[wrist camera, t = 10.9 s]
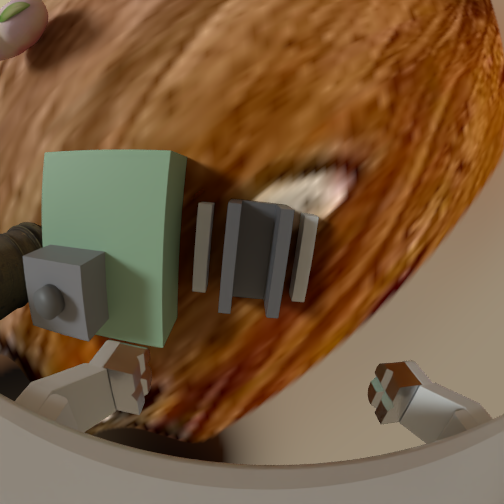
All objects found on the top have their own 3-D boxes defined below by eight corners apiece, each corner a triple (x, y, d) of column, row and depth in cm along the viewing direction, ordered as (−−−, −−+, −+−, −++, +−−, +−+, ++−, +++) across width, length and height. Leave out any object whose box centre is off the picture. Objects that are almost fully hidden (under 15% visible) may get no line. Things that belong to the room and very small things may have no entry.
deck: (78, 155, 24) (5, 150, 13) (319, 172, 25) (367, 168, 15) (79, 300, 28) (23, 348, 17) (293, 328, 29) (315, 400, 18)
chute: (222, 290, 28) (218, 312, 23) (231, 198, 26) (228, 202, 21) (272, 295, 28) (278, 318, 24) (285, 204, 26) (294, 210, 21)
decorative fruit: (66, 1, 19) (28, -31, 9) (62, 43, 20) (14, 14, 11) (16, 34, 19) (-26, 15, 9) (10, 77, 21) (-39, 63, 11)
